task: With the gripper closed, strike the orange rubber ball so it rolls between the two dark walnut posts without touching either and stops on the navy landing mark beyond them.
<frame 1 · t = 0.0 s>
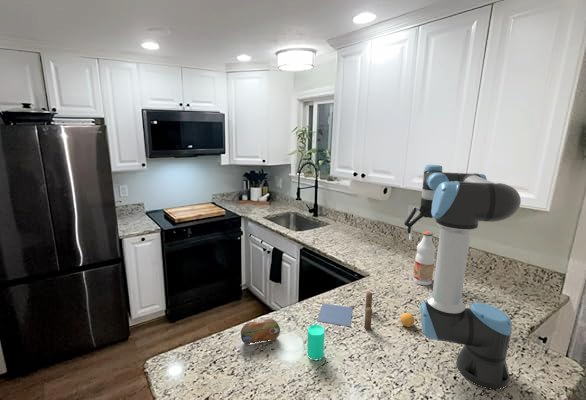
hand: (425, 241, 147), 28 cm above the countertop, tool pointing down, fingers open, 13 cm apart
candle: (315, 355, 111), on the countertop
tin: (260, 341, 118), on the countertop
ball: (407, 319, 127), on the countertop
fruit juice: (422, 281, 165), on the countertop
post near: (367, 328, 126), on the countertop
post far: (368, 311, 138), on the countertop
landing mark: (335, 314, 135), on the countertop
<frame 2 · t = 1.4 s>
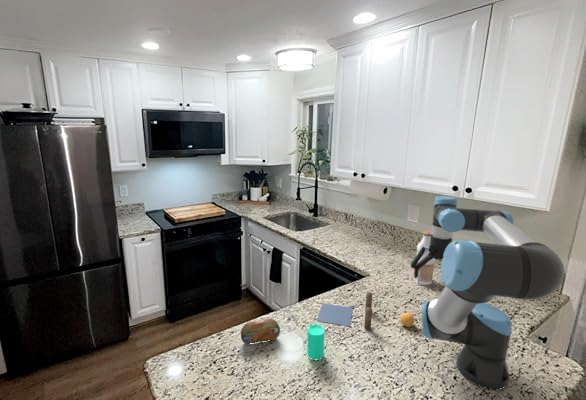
hand: (435, 286, 122), 19 cm above the countertop, tool pointing down, fingers open, 13 cm apart
nothing on the countertop moved.
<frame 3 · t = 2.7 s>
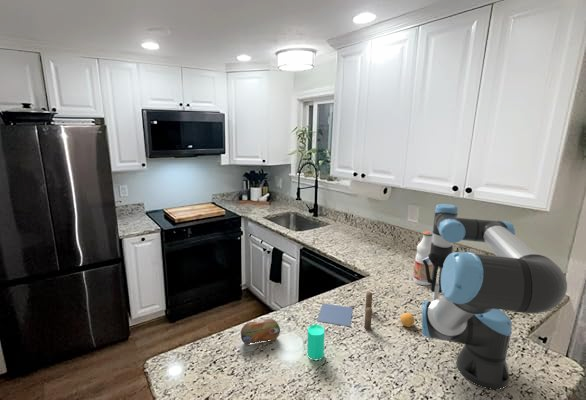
hand: (435, 298, 122), 14 cm above the countertop, tool pointing down, fingers closed
nothing on the countertop moved.
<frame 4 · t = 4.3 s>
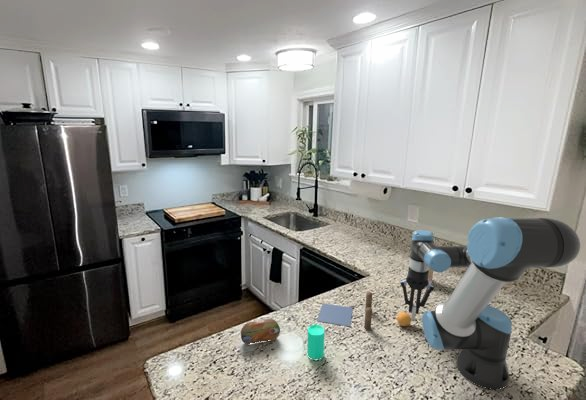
hand: (412, 319, 128), 3 cm above the countertop, tool pointing down, fingers closed
ball: (403, 319, 127), on the countertop
everything else where it was.
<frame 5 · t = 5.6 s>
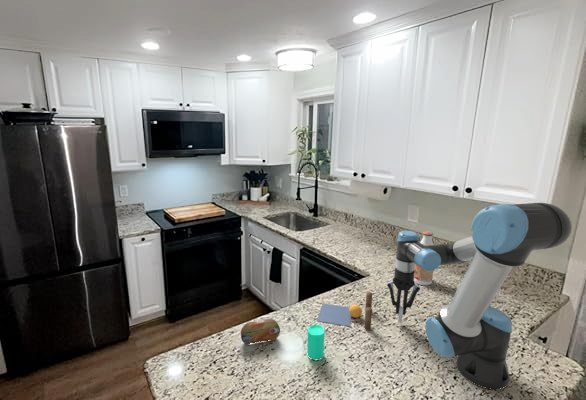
hand: (399, 320, 128), 2 cm above the countertop, tool pointing down, fingers closed
ball: (355, 311, 133), on the countertop
everything else where it was.
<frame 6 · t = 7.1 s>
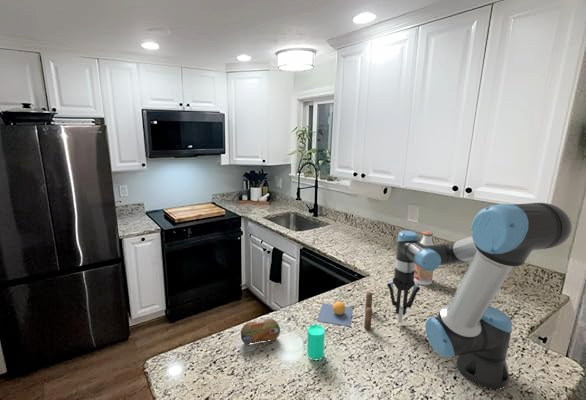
hand: (399, 320, 128), 2 cm above the countertop, tool pointing down, fingers closed
ball: (339, 308, 135), on the countertop
everything else where it was.
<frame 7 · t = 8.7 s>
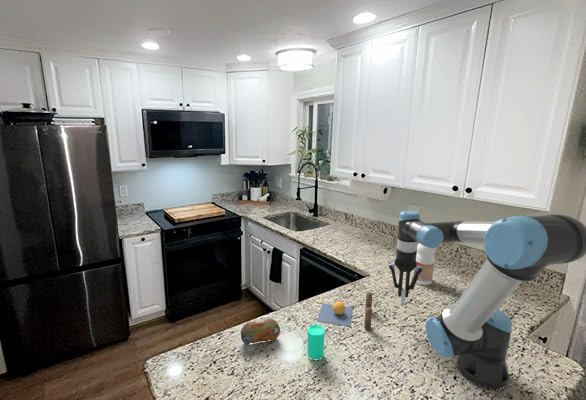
hand: (402, 303, 126), 10 cm above the countertop, tool pointing down, fingers closed
nothing on the countertop moved.
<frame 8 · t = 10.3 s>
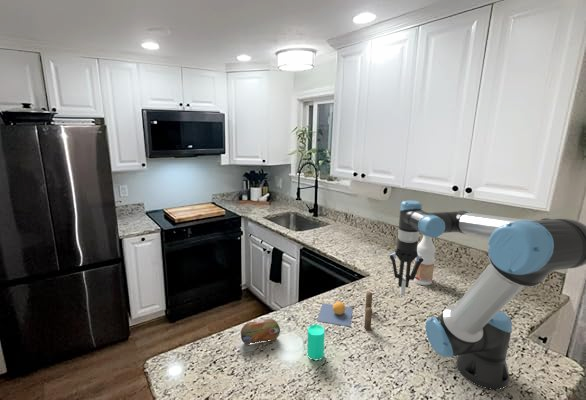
hand: (402, 293, 125), 14 cm above the countertop, tool pointing down, fingers closed
nothing on the countertop moved.
at the end: ball 1.6 cm from the landing mark (horizontally); ball never touched post near; ball never touched post far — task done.
